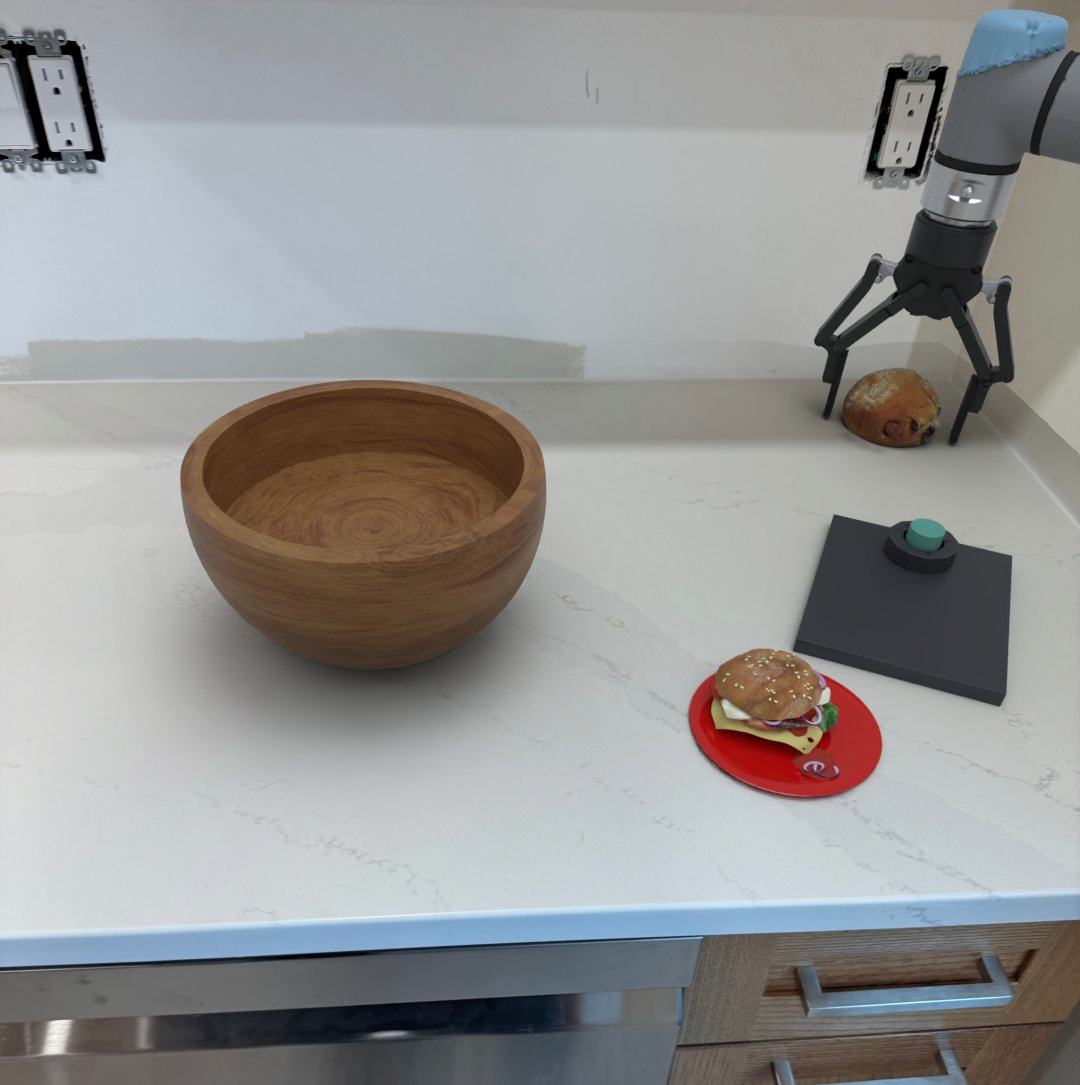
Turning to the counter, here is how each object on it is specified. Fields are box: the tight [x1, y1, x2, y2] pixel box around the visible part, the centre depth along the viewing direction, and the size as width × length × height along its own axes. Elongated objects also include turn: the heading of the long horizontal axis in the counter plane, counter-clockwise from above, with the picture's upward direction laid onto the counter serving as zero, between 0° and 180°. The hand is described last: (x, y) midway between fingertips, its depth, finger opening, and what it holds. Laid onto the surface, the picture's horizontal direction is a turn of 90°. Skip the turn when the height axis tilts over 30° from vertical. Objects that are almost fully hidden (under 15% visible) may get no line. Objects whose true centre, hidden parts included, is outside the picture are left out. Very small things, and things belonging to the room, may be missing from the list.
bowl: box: [179, 379, 547, 670], centre depth 71 cm, size 25×25×15 cm
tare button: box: [905, 517, 947, 551], centre depth 84 cm, size 3×3×2 cm
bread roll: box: [841, 367, 942, 448], centre depth 104 cm, size 10×10×8 cm
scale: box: [791, 513, 1013, 707], centre depth 80 cm, size 16×20×3 cm
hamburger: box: [688, 646, 883, 798], centre depth 68 cm, size 14×14×6 cm
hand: (889, 424), depth 105 cm, fingers open, 13 cm apart
